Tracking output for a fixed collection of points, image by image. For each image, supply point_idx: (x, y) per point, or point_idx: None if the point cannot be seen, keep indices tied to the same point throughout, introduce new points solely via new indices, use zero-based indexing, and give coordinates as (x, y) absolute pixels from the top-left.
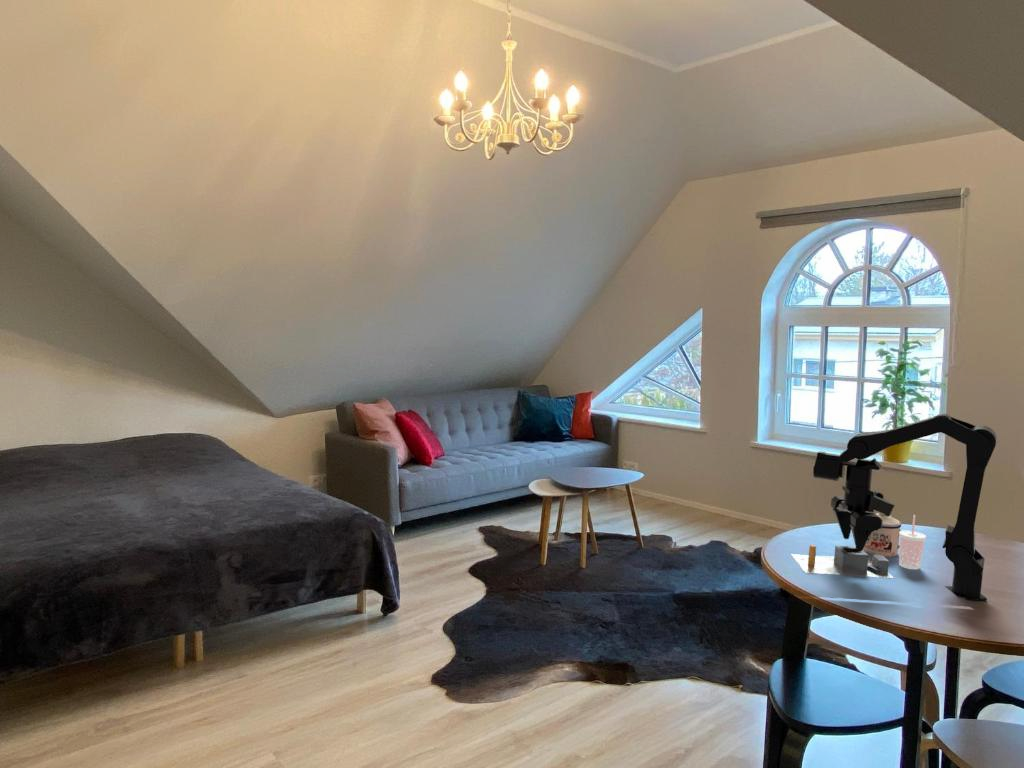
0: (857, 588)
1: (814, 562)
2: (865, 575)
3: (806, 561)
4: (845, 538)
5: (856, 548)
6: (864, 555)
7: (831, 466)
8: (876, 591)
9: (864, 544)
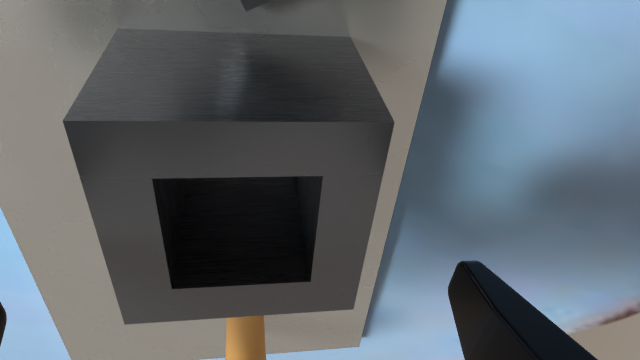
0: (558, 175)
1: (258, 328)
2: (410, 74)
3: (187, 328)
4: (2, 314)
5: (462, 319)
6: (383, 158)
7: None
8: (635, 85)
9: (560, 334)
